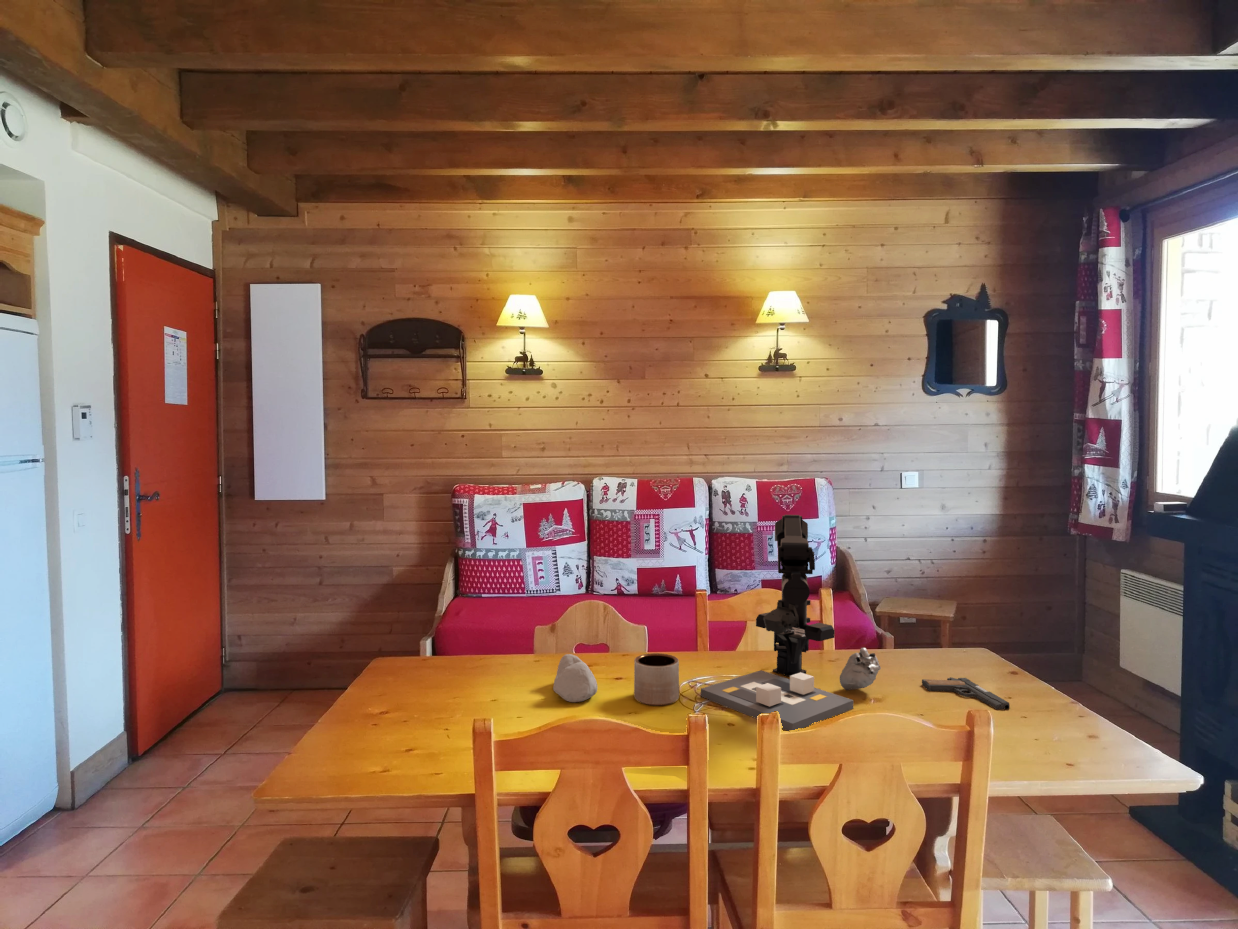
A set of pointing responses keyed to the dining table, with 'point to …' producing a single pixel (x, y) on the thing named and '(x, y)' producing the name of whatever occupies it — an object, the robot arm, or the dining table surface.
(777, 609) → the robot arm
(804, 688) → the peach cube
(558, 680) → the decorative stone
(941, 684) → the handgun
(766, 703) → the block
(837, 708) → the switch board
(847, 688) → the heart
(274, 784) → the dining table surface
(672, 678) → the planter
